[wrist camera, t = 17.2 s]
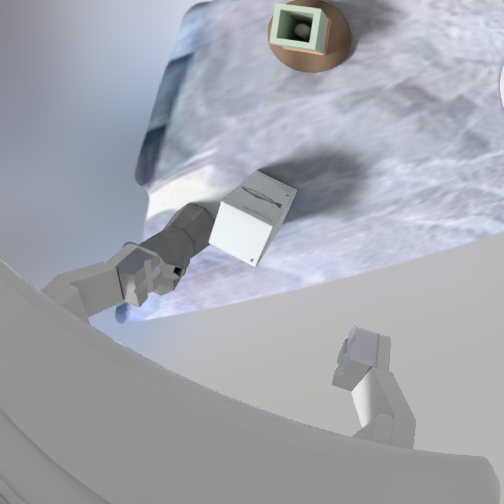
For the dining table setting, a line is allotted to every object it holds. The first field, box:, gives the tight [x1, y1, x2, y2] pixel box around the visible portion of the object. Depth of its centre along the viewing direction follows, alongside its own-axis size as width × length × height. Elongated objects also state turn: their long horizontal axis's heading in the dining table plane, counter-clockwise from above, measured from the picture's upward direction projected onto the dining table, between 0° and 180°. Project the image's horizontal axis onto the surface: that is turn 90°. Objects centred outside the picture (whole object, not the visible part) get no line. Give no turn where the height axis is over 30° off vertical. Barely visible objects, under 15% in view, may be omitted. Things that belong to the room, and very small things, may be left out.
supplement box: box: [209, 170, 298, 267], centre depth 43 cm, size 7×7×13 cm
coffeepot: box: [137, 204, 215, 296], centre depth 50 cm, size 15×9×18 cm, turn 105°
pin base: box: [268, 0, 351, 73], centre depth 29 cm, size 11×11×6 cm
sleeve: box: [269, 4, 332, 56], centre depth 28 cm, size 5×5×8 cm
